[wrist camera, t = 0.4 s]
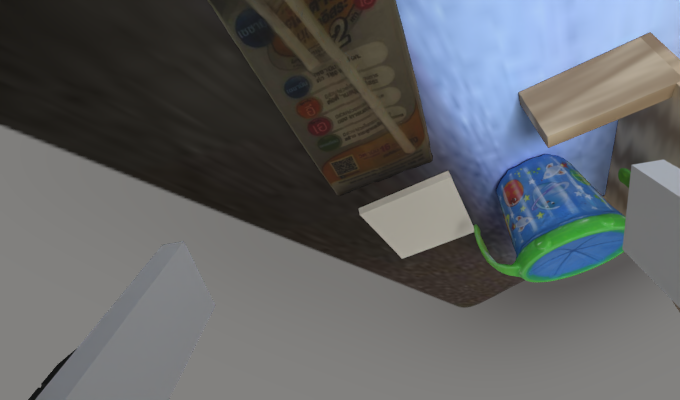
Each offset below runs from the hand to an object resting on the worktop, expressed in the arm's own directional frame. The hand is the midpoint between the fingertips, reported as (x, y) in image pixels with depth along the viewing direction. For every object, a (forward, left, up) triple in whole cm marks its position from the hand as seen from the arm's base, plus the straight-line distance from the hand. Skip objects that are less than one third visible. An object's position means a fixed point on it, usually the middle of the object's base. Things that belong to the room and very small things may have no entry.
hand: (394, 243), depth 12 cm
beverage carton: (+3, -1, -18) cm, 18 cm away
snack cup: (+30, +10, -17) cm, 36 cm away
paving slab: (+30, -3, -17) cm, 35 cm away
